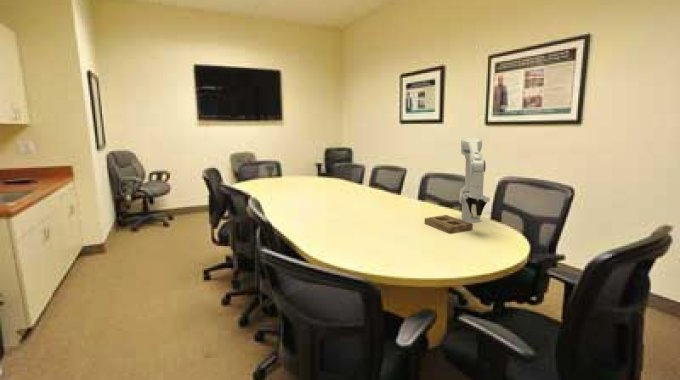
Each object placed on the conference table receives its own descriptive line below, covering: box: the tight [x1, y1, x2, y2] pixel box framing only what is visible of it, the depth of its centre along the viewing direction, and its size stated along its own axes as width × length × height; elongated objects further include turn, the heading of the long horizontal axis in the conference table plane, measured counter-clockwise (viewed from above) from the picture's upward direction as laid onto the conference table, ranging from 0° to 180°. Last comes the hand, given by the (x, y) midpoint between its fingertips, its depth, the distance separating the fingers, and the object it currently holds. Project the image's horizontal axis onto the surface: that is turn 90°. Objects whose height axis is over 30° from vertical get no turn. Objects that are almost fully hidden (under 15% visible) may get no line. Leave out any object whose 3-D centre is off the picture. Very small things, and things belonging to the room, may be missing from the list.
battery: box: [471, 203, 481, 220], centre depth 177 cm, size 4×4×7 cm
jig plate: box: [424, 214, 474, 235], centre depth 191 cm, size 14×20×3 cm
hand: (475, 214), depth 178 cm, fingers closed on battery, 4 cm apart
